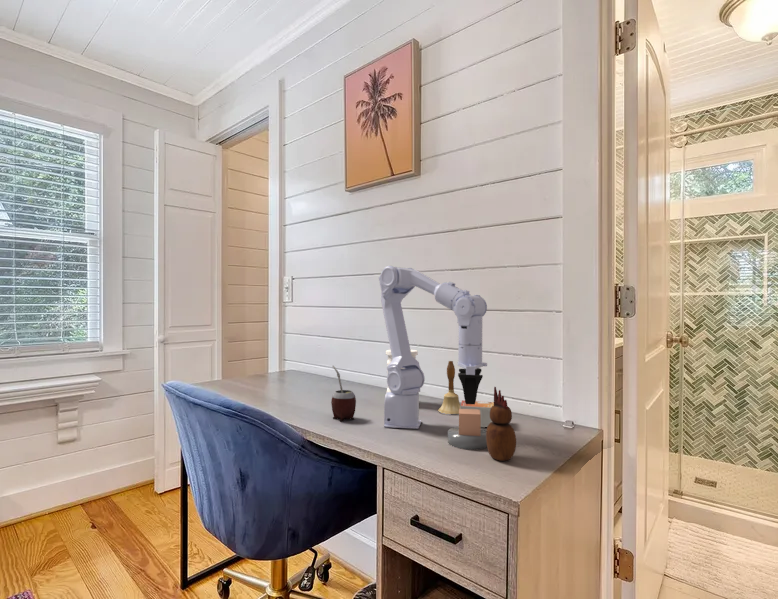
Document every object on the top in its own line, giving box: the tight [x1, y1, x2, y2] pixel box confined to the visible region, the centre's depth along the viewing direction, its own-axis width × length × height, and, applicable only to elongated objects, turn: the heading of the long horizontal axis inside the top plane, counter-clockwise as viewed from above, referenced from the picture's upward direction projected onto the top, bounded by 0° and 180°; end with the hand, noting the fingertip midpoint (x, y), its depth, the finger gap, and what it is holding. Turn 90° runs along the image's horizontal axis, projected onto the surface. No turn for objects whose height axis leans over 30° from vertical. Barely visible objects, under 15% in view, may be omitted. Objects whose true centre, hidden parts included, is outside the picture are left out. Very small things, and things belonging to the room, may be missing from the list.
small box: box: [460, 400, 494, 428], centre depth 120 cm, size 8×6×10 cm
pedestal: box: [447, 426, 488, 450], centre depth 103 cm, size 10×10×2 cm
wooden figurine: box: [486, 386, 517, 462], centre depth 92 cm, size 7×6×15 cm
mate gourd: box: [330, 365, 357, 423], centre depth 125 cm, size 8×8×15 cm
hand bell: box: [437, 360, 461, 415], centre depth 134 cm, size 8×8×16 cm
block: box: [458, 409, 482, 436], centre depth 103 cm, size 5×5×5 cm
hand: (470, 400), depth 104 cm, fingers open, 7 cm apart
